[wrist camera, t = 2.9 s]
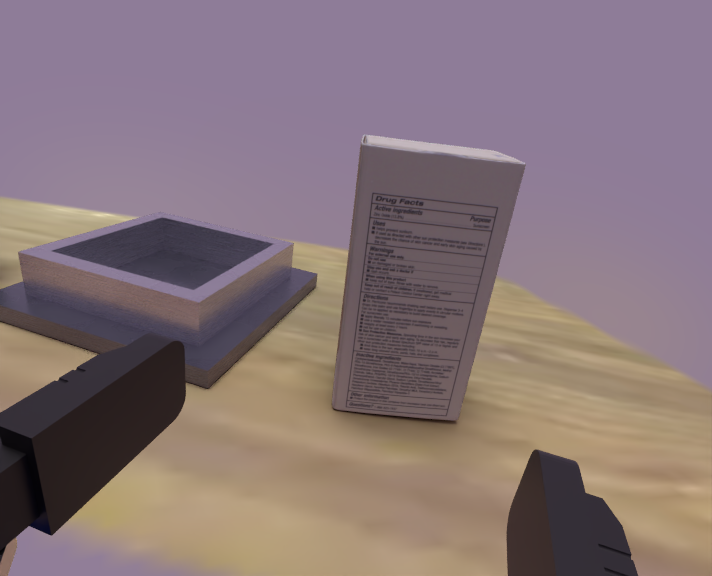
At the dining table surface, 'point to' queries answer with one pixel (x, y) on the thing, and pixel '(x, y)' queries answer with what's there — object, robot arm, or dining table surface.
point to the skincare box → (420, 274)
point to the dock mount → (159, 289)
